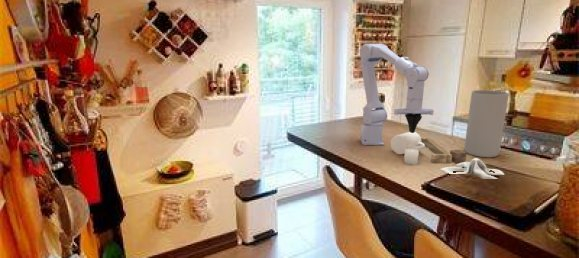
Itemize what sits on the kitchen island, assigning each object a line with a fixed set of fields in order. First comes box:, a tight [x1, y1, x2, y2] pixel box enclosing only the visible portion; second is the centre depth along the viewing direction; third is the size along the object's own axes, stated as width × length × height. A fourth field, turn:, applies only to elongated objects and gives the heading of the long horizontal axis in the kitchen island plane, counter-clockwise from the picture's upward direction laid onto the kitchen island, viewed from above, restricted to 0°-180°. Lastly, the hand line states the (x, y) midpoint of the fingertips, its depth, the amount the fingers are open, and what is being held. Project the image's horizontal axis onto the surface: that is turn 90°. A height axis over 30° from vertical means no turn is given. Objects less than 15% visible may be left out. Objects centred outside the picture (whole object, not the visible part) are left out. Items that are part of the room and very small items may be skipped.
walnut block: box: [449, 149, 468, 164], centre depth 125 cm, size 4×4×4 cm
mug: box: [390, 131, 426, 155], centre depth 135 cm, size 12×10×8 cm
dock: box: [421, 137, 452, 164], centre depth 135 cm, size 7×23×3 cm, turn 178°
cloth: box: [439, 157, 505, 179], centre depth 112 cm, size 22×19×6 cm
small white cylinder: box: [403, 148, 420, 166], centre depth 124 cm, size 5×5×5 cm
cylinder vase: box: [463, 89, 510, 158], centre depth 131 cm, size 12×12×25 cm
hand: (411, 132), depth 130 cm, fingers closed
